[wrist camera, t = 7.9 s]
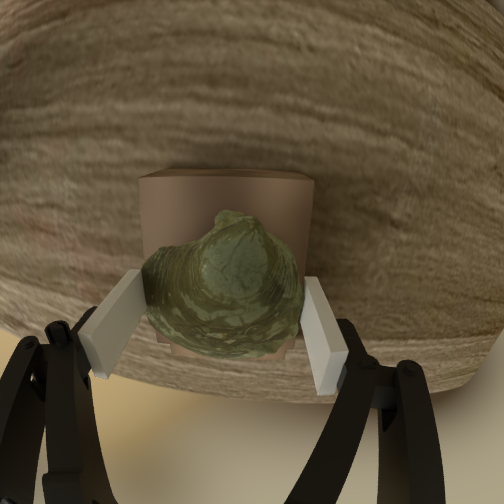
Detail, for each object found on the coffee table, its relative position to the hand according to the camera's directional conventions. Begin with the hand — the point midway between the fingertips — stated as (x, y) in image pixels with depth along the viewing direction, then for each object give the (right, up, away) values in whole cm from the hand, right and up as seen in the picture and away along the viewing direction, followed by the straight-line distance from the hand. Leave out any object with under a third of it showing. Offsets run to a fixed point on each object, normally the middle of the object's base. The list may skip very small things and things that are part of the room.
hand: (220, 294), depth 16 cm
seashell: (0, 0, +2) cm, 2 cm away
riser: (0, +1, +9) cm, 9 cm away
